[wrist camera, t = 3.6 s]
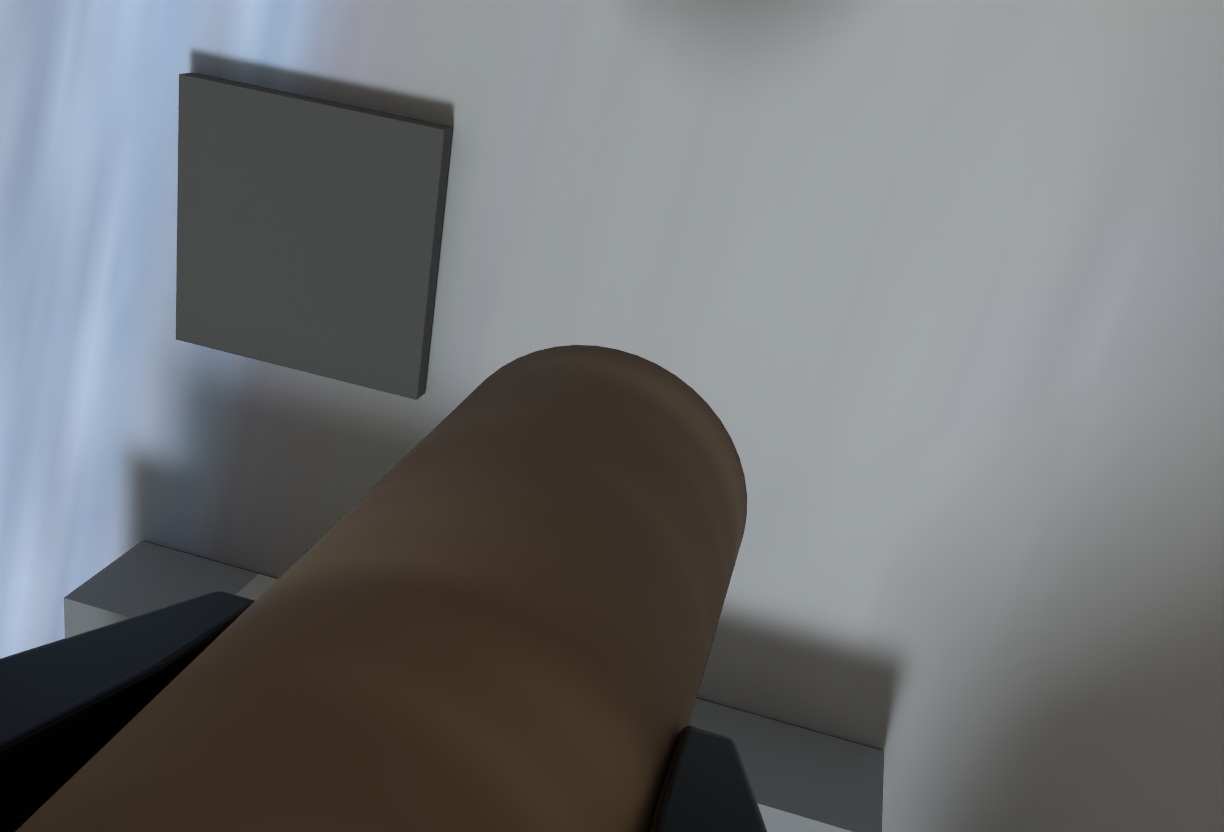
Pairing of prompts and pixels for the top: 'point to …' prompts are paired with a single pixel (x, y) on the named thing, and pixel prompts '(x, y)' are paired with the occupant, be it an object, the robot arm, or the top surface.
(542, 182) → the top surface
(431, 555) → the dowel
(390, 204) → the pad
